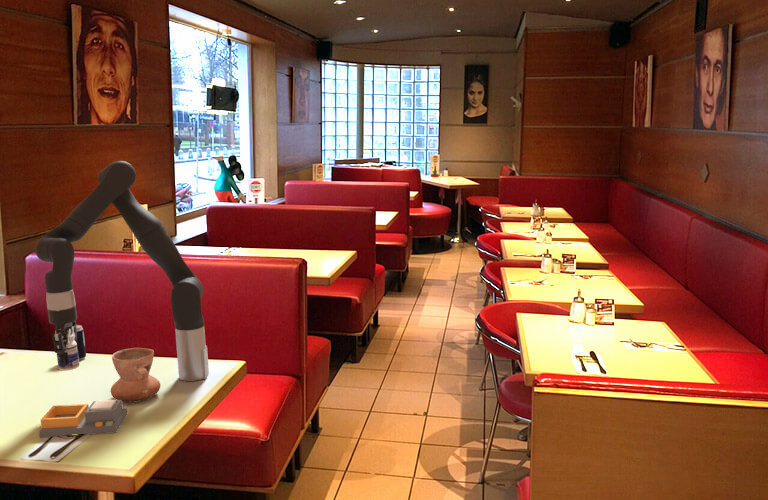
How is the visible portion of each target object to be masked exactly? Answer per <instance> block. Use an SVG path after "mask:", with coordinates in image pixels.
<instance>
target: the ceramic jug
mask: <svg viewBox="0 0 768 500" xmlns="http://www.w3.org/2000/svg"><path fill="white" fill-rule="evenodd" d="M154 355H155V351H154V349H150V348H145V347H144V348H143V347H132V348H129V347H128V348H125V349H121V350H118V351H116V352H114V353H113V354H112V355H111V359H112V364H113V366H114V369H115V371H116V373H117V375H118V376H119V377H120V378H119V379H118V380H116V381H115V382H114V383H113V384H112V386H111V387H110V395H111V396H112V398H113V399H114V400H122V403H135V402H143V401H145V400H148V399H150V398H153V397H154V396H155V395H156V394H158V393H159V391H160V389H161V382H160V381H159V379H158V378H157V377H154V376H153V375H152V374H151V375H150V372H151V369H152V364H153V362H154V357H155V356H154Z"/></svg>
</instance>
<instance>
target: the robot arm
mask: <svg viewBox="0 0 768 500" xmlns="http://www.w3.org/2000/svg"><path fill="white" fill-rule="evenodd" d="M136 180H137V173H136V170H135V168H134V166H133V165H132V164H131V163H129V162H127V161H124V160H117V161H113V162H111V163H110V164H108V165H107V166H105V168H103V169H101V170H100V171H99V173H98V174H97V183H98V185H97V186H96V187H95V188H94V189H93V191H92V192H91V193H89V194H88V196H87V197H86V198H84V199H83V200H82V201H81V202H80V203H79V204H77V205H76V207H75V208H73V210H71V212H70V213H68V215H67V216H66V217H65V218H64V219H63V221H62V222H61V223H60V224H59V225H57V226H55V227H54V228H52V229H51V230H50V231H48V232H47V233H45V235H43V236H42V237H41V238H40V239H39V240H38V242H37V244H36V247H35V254H36V256H37V258H38V259H39V260H41V261H43V262H47V263H48V262H49V263H52V269H51V270H49V271H47V272H46V273H45V274H44V284H45V292H46V293H45V294H46V296H45V297H46V299H45V300H46V308H47V316H48V317H47V318H48V322H49V324H51V325H55V331H54V333H52V334H51V337H52V344H53V349H54V353H55V354H57V353H59V358H60V365H68V364H69V359H68V352H67V351H68V350H67V349H68V344H69V342H70V334H74V339H73V340H74V341H77V328H76V325H77V319H78V311H77V306H76V305H77V303H76V296H75V293H74V288H73V287H74V286H73V280H72V279H73V278H72V274H73V270H74V269H73V267H74V261H75V249H74V246H73V242H78V241H80V240H81V239H83V238H84V236H85V235H86V234H87V233H88V231H90V229H91V228H92V227H93V225H94V224H95V223H96V222H97V221H98V220H99V218H100V217H101V216H102V215H103V213H104V212H105V211H106V210H107V208H108V207H110V205H113V206H114V208H115V209H116V210H117V212H118V213H119V214H120V215H121V217H122V219H123V220H124V221H125V223H126V225H127V226H128V228H129V229H130V230H131V233H132V234H133V236H134V237H135V239H136V241H137V242H138V244H139V245H140V247H141V249H142V250H143V251H144V253H145V254H146V255H147V256H148V257H149V258H150V259H151V260H152V261H153V262H154V263H155V264H157V265H158V267H160V269H162V271H163V272H164V274H166V276H167V278H168V280H169V282H170V284H171V285H172V288H171V291H170V292H171V293H170V303H171V312H172V319H173V320H172V321H173V323H174V329H175V342H176V343H175V344H176V354H177V355H176V356H177V366H178V367H177V368H178V369H177V370H178V379H179V380H180V381H184V382H195V381H200V380H206V379H207V378H208V376H209V372H210V371H209V370H210V369H209V357H208V354H209V353H208V345H206V334H205V333H206V332H205V318H204V316H203V313H202V300H201V299H202V298H203V294H204V287H203V283H202V282H201V281H200V279H199V278H198V277H197V276H196V274H195V273H194V272H193V271H192V270H191V268H190V267H189V266H188V264H187V263H186V262H185V260H184V259H183V257H182V255H181V254H180V252H179V249H178V247H177V246H176V244H175V243H174V241H173V239H172V238H171V235H170V234H169V233H168V231H167V229H166V228H165V226H164V224H163V223H162V222H161V220H160V219H159V218H158V217H157V216H156V215H154V214H153V213H151V211H149V210H148V209H146V208H145V207H143V205H141V203H140V202H139V201H138V200H137V199H136V197H135V195H134V194H133V193H132V191H131V189H130V188H132V187H133V185H134V184H135V183H136ZM63 340H66V341H65V342H64V341H63ZM64 345H65V346H64Z"/></svg>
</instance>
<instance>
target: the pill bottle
mask: <svg viewBox="0 0 768 500" xmlns="http://www.w3.org/2000/svg"><path fill="white" fill-rule="evenodd" d="M73 339H74V334H70V342H69V344H68V349H67V350H68V351H67V352H68V359H69V364H68V365H60V358H59V353H56V358H57V359H56V360H57V366H58V367H57V368H58V370H60V371H73V370H75V369H77V368H79V367H80V360H79V357H78V350H77V343H76V342H75V341H74V340H73ZM63 341H64V342H65V341H66V340H63ZM64 346H65V345H64Z"/></svg>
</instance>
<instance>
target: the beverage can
mask: <svg viewBox="0 0 768 500" xmlns="http://www.w3.org/2000/svg"><path fill="white" fill-rule="evenodd" d="M76 328H77V341H75V342H76V343H77V350H78V357H79V361H82V360H84V359H85V357H86V356H87V352H86V351H87V350H86V342H85V341H86V340H85V333H84V328H83V325H80V324H76Z"/></svg>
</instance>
